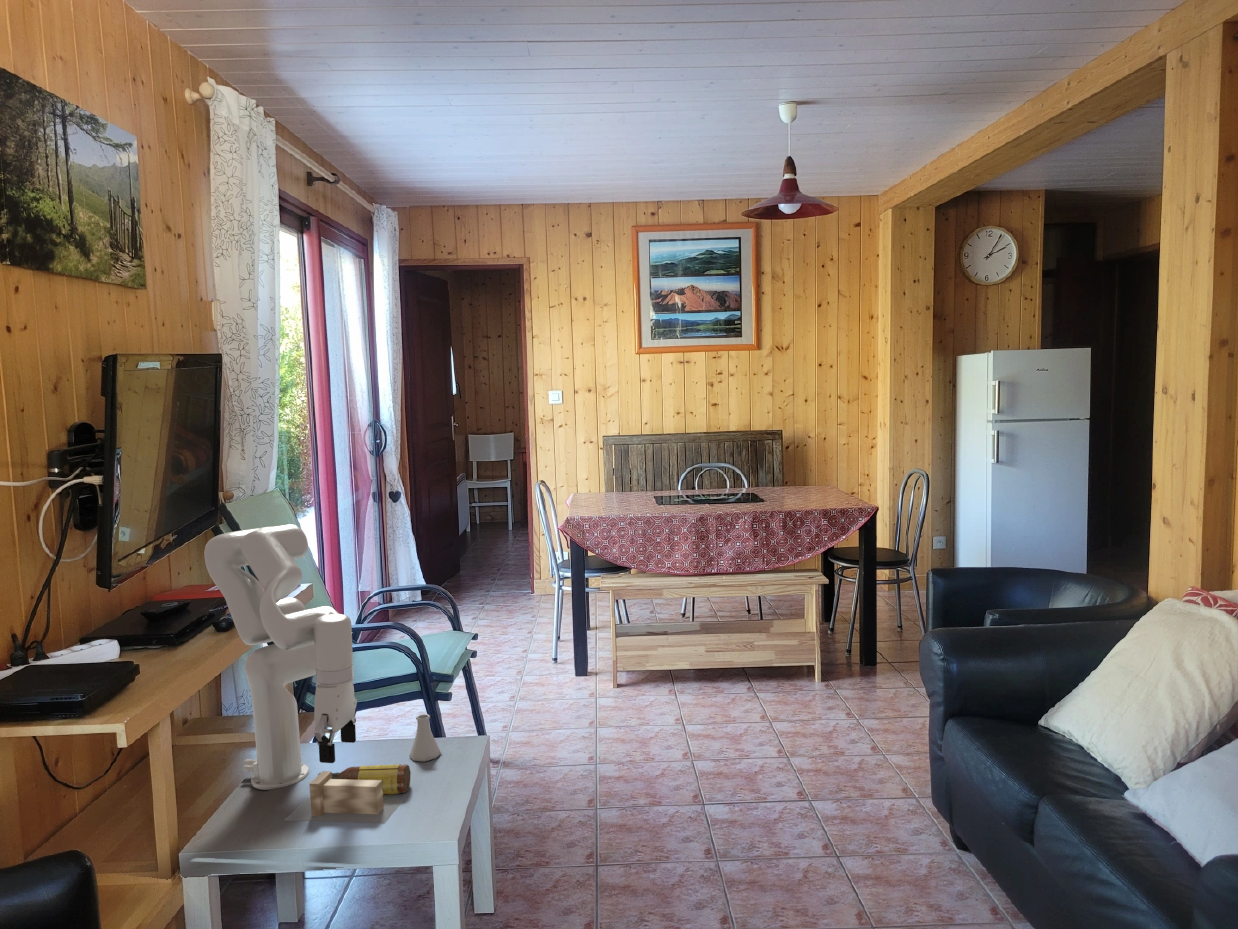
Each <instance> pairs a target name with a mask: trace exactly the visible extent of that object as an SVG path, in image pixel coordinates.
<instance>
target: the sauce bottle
mask: <svg viewBox="0 0 1238 929" xmlns="http://www.w3.org/2000/svg"><path fill="white" fill-rule="evenodd" d="M320 773H321V772H319V773H318V774H317V776H318V775H319V774H320ZM332 779H349V780H382V790H383V795H400V794H405V793H407V792H408V791H409V789H410V785H411V768H410V765H409V764H401V763H400V764H399V763H398V764H397V763H395V764H376V765H360V766H350V767H347V768H346V769H344V770H341V771H340V772H332Z"/></svg>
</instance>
